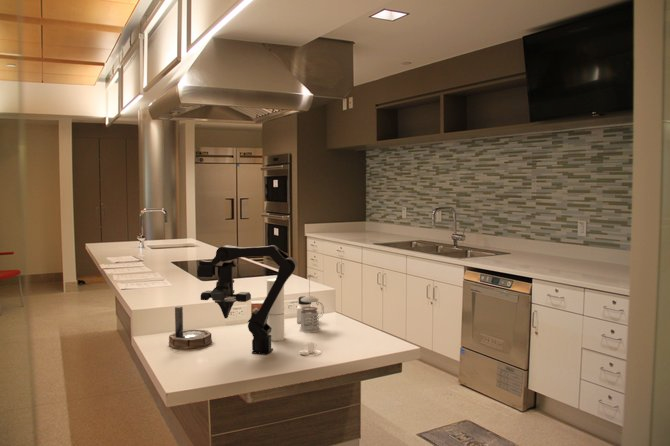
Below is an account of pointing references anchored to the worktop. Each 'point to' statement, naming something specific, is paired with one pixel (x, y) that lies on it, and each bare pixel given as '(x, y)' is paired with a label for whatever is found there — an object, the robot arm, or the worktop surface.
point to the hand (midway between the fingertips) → (226, 318)
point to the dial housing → (190, 341)
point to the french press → (310, 326)
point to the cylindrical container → (276, 314)
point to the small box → (256, 305)
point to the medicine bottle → (299, 309)
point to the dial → (179, 327)
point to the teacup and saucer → (309, 349)
